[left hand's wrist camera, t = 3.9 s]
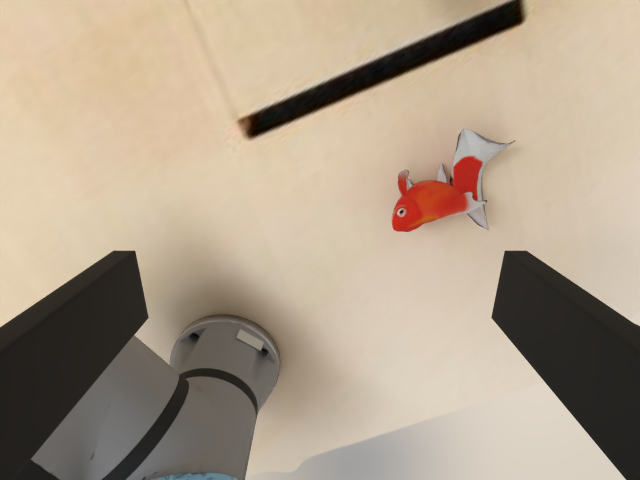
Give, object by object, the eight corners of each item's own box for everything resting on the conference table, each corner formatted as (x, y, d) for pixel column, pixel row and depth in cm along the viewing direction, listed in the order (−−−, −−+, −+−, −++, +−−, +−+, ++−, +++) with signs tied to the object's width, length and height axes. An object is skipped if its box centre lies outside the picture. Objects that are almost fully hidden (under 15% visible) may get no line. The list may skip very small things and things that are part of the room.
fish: (363, 143, 36) (433, 179, 28) (474, 100, 40) (558, 122, 33) (368, 226, 42) (426, 273, 35) (463, 181, 47) (531, 214, 40)
